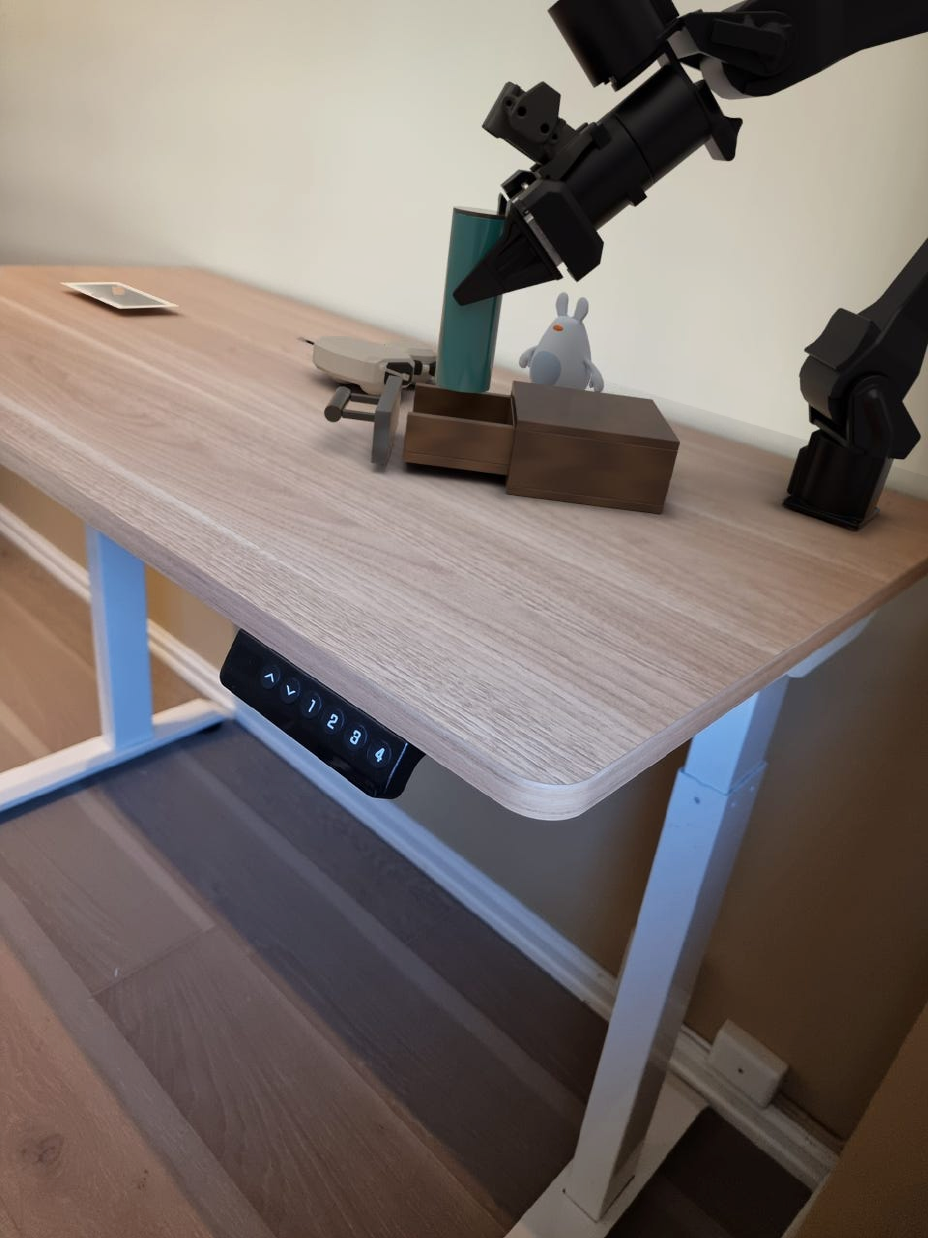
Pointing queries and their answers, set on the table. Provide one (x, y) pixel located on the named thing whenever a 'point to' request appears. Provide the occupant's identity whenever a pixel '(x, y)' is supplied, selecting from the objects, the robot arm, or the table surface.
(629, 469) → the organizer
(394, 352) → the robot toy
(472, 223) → the lidded cylindrical canister
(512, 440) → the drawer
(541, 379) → the toy figure
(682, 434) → the table surface
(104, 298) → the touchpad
